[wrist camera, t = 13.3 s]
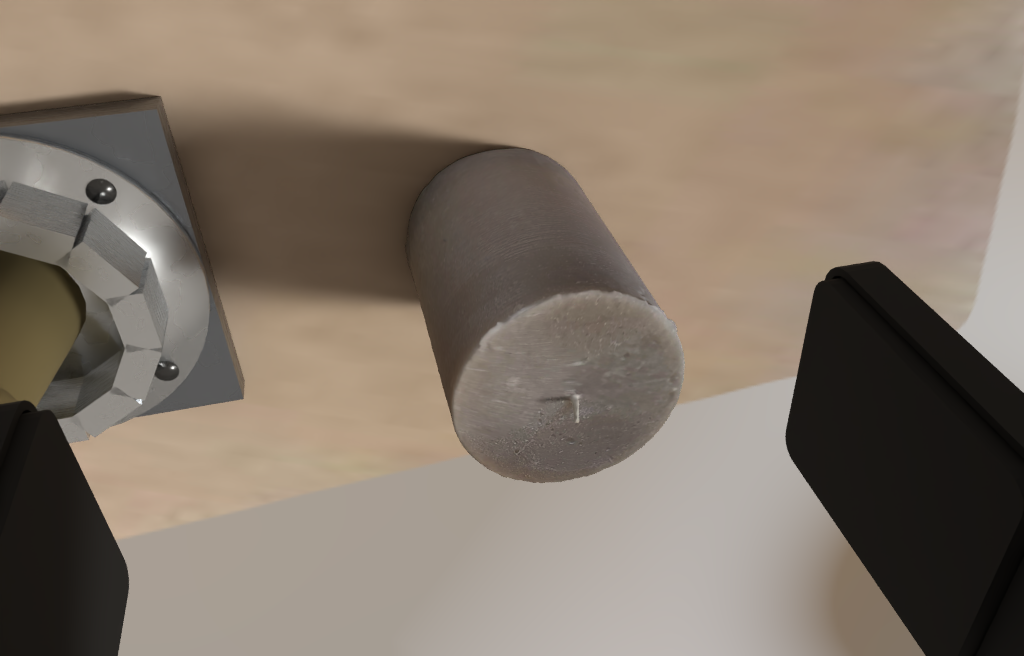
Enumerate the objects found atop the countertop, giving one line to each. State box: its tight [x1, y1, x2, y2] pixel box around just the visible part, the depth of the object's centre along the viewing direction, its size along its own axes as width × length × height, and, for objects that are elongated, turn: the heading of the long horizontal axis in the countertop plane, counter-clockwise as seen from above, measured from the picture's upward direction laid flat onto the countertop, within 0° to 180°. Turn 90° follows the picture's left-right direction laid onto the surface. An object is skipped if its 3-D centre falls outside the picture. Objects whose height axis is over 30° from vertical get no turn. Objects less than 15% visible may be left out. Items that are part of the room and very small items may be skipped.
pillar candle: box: [405, 148, 685, 483], centre depth 39 cm, size 10×10×15 cm
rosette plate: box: [0, 96, 244, 443], centre depth 39 cm, size 16×16×5 cm
